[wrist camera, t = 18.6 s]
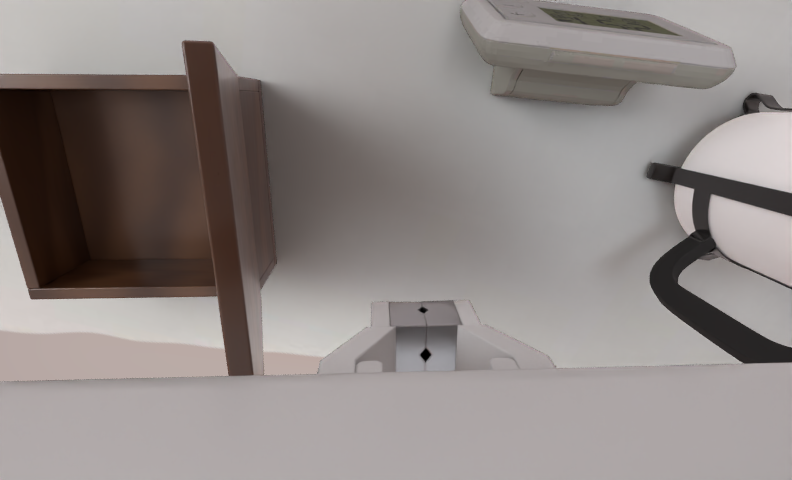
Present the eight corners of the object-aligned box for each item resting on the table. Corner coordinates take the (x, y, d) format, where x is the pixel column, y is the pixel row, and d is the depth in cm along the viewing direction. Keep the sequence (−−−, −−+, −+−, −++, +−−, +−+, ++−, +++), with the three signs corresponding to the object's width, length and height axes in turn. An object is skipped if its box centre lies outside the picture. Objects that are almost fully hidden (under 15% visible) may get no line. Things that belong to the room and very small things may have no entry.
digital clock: (662, 25, 34) (782, -6, 24) (612, 135, 37) (702, 149, 27) (475, -46, 32) (520, -114, 22) (436, 76, 35) (461, 66, 24)
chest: (89, 265, 38) (30, 299, 32) (44, 78, 33) (-37, 73, 27) (277, 263, 39) (257, 296, 32) (260, 80, 34) (233, 75, 28)
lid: (246, 501, 16) (268, 495, 16) (180, 39, 11) (214, 41, 11) (250, 299, 32) (261, 298, 32) (224, 74, 27) (237, 75, 27)
